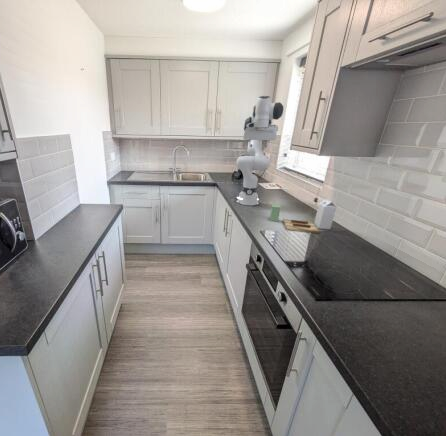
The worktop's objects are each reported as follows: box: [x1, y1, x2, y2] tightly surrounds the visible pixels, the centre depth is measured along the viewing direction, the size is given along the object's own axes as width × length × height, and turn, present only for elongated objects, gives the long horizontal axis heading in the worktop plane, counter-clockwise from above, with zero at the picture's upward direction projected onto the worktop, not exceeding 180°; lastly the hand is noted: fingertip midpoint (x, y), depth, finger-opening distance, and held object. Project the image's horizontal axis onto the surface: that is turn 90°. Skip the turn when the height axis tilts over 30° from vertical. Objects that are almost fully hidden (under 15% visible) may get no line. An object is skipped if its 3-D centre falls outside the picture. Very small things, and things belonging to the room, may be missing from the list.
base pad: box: [282, 218, 320, 234], centre depth 148 cm, size 16×18×3 cm
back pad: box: [269, 204, 282, 222], centre depth 157 cm, size 4×5×10 cm
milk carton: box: [313, 197, 337, 230], centre depth 146 cm, size 7×7×19 cm
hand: (258, 147), depth 151 cm, fingers open, 8 cm apart
